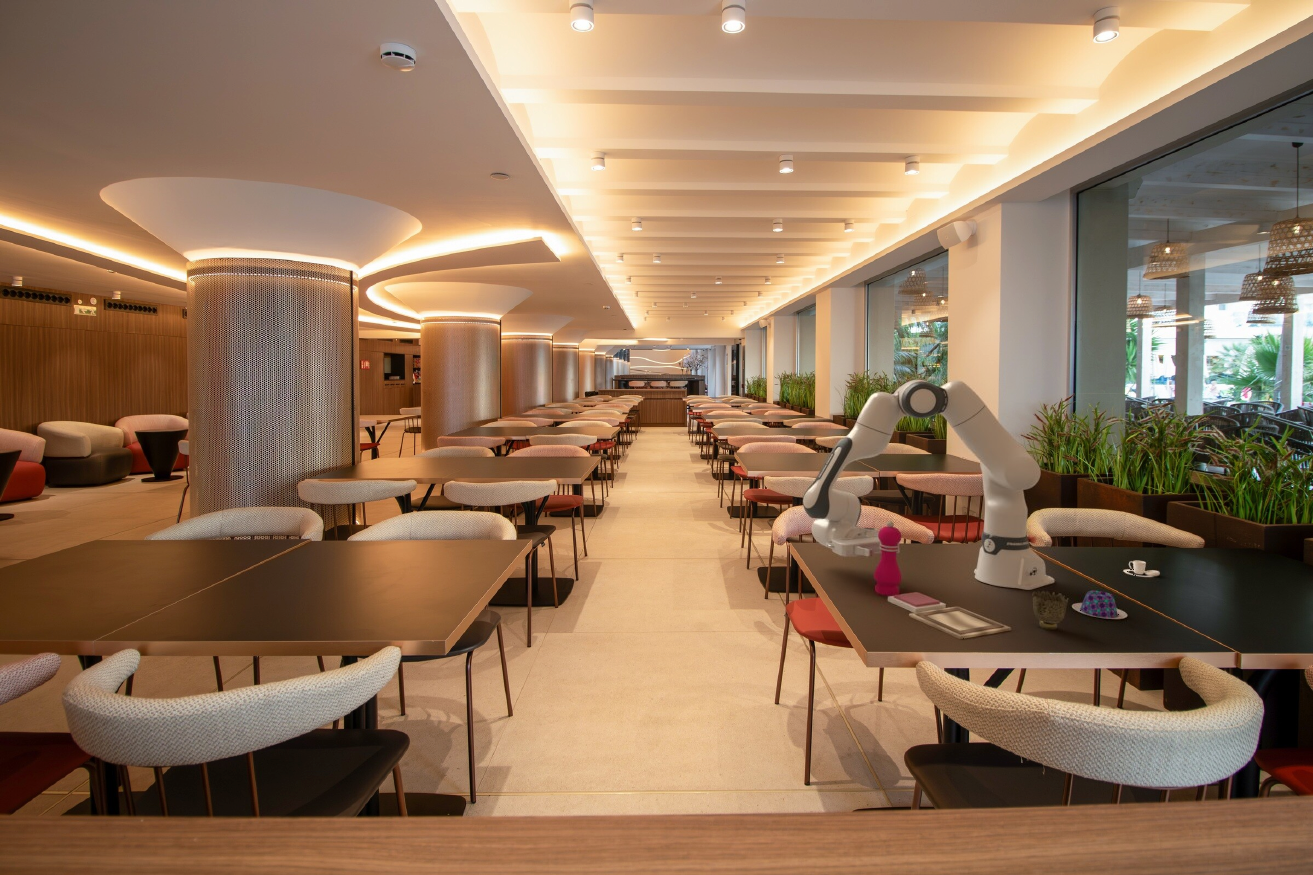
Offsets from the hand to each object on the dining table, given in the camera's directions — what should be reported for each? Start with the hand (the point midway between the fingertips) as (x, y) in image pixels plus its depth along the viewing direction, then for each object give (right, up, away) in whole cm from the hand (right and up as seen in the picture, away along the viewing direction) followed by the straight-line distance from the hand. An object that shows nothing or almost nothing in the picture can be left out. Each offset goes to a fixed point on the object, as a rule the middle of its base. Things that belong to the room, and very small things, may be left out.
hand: (884, 551), depth 191 cm
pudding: (+50, -14, -14) cm, 54 cm away
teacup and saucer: (+86, -11, +20) cm, 89 cm away
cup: (+31, -14, -26) cm, 43 cm away
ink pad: (+5, -12, -11) cm, 17 cm away
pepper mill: (0, -11, -1) cm, 11 cm away
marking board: (+10, -13, -24) cm, 29 cm away
